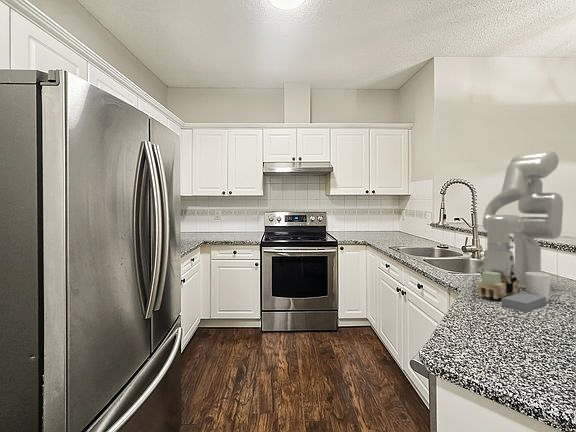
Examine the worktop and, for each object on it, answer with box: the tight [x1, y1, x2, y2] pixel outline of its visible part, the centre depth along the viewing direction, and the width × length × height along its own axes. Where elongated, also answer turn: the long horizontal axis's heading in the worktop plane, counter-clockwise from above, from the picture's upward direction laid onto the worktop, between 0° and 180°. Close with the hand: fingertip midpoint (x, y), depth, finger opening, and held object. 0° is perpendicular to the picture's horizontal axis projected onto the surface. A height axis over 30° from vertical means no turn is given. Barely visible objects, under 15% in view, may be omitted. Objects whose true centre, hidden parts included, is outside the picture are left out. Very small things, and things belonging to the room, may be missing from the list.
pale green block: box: [481, 271, 501, 285], centre depth 127 cm, size 4×5×4 cm
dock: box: [501, 291, 547, 313], centre depth 118 cm, size 15×8×3 cm, turn 121°
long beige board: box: [477, 279, 521, 300], centre depth 130 cm, size 18×7×5 cm, turn 121°
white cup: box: [525, 272, 551, 302], centre depth 126 cm, size 8×8×10 cm
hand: (498, 290), depth 130 cm, fingers closed on long beige board, 7 cm apart
